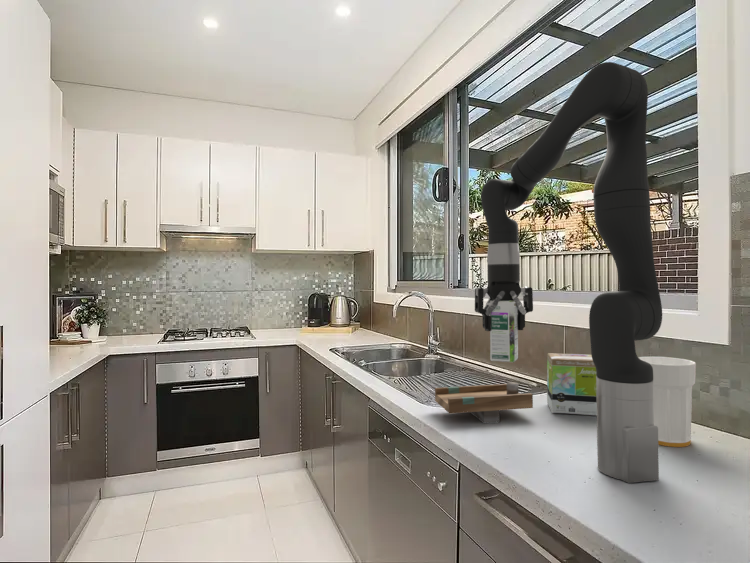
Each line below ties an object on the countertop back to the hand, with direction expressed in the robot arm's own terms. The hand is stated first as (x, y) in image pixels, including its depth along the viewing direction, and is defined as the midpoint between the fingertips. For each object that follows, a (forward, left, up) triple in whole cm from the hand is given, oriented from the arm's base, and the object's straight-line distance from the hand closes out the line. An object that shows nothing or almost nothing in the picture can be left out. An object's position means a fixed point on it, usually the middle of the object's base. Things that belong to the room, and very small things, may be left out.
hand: (504, 330), depth 110 cm
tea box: (+9, -25, -24) cm, 36 cm away
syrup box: (0, 0, -7) cm, 7 cm away
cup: (-15, -30, -24) cm, 41 cm away
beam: (+10, +2, -23) cm, 25 cm away
